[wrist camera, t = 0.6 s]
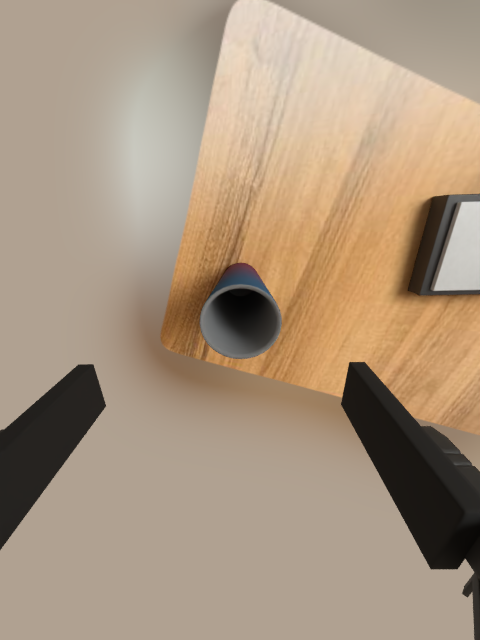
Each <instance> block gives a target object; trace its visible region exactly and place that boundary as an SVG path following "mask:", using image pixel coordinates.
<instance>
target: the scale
mask: <svg viewBox="0 0 480 640" xmlns="http://www.w3.org/2000/svg"><path fill="white" fill-rule="evenodd" d="M408 291H410V292H413V293H415V294H417V295H462V294H480V194H462V195H443V196H435V197H433V200H432V203H431V207H430V211H429V214H428V218H427V222H426V225H425V229H424V233H423V236H422V240H421V244H420V247H419V251H418V255H417V258H416V262H415V266H414V269H413V273H412V277H411V280H410V284H409V288H408Z"/></svg>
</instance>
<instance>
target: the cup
mask: <svg viewBox="0 0 480 640" xmlns="http://www.w3.org/2000/svg"><path fill="white" fill-rule="evenodd" d="M281 324H282V323H281V314H280V310H279V308H278V306H277V304H276V302H275V300H274V299H273V297H272V296H271V294H270V292H269V291H268V289H267V288H266V286H265V285H264V283H263V281H262V280H261V278H260V277H259V275H258V274H257V272H256V271H255V269H254V268H253V267H252V266H250V265H248V264H246V263H236V264H233V265H231V266H230V267H229V268H228V269H227V270H226V272H225V273H224V275H223V276H222V278H221V279H220V281H219V282H218V284H217V285H216V287H215V288H214V290H213V291H212V293H211V294H210V296H209V298H208V299H207V301H206V302H205V304H204V306H203V308H202V311H201V315H200V328H201V332H202V335H203V337H204V339H205V340H206V342H207V343H208V345H209V346H210V347H211V348H212V349H213V350H215V351H216V352H218V353H219V354H222V355H224V356H226V357H230V358H235V359H247V358H251V357H255V356H258V355H260V354H262V353H263V352H265V351H266V350H268V349H269V348H270V347H271V346H272V345H273V344H274V342H275V341H276V339H277V338H278V335H279V333H280V330H281Z"/></svg>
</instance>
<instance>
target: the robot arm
mask: <svg viewBox="0 0 480 640" xmlns="http://www.w3.org/2000/svg"><path fill="white" fill-rule="evenodd" d="M341 405H342V407H343V409H344V411H345V413H346V414H347V416H348V418H349V420H350V422H351V423H352V425H353V427H354V429H355V431H356V433H357V435H358V436H359V438H360V440H361V442H362V444H363V446H364V447H365V449H366V451H367V453H368V455H369V457H370V458H371V460H372V462H373V464H374V466H375V467H376V469H377V471H378V473H379V475H380V477H381V479H382V480H383V482H384V484H385V486H386V488H387V490H388V491H389V493H390V495H391V497H392V499H393V501H394V502H395V504H396V506H397V508H398V510H399V512H400V513H401V515H402V517H403V519H404V521H405V523H406V524H407V526H408V528H409V530H410V532H411V533H412V535H413V537H414V539H415V541H416V543H417V545H418V546H419V548H420V550H421V552H422V554H423V556H424V557H425V559H426V561H427V563H428V565H429V567H430V568H431V569H458V567H459V566H460V565H461V563H462V562H463V561H464V559H466V560H467V562H468V563H469V565H470V566H471V568H472V569H473V571H474V572H475V573H474V574H473V575H472V577H471V578H470V579H469V581H468V582H467V583H466V585H465V586H464V589H463V595H465V596H466V597H468V596H469V595H470V594H471V592H472V591H473V613H474V639H475V640H480V471H479V470H478V469H477V468H476V467H475V466H472V463H471V462H470V461H469V460H468V459H467V458H466V457H465V456H464V455H463V454H461V453H460V450H459V449H458V448H457V447H455V445H454V444H453V443H452V442H451V441H450V440H449V439H448V438H447V437H446V436H444V435H443V434H441V433H440V432H438V431H437V430H435V429H434V428H433V427H431V426H427V427H426V426H420V425H419V423H418V422H417V421H416V420H415V419H414V418H413V417H412V416H411V414H410V413H409V412H408V411H407V410H406V409H405V408H404V406H403V405H402V404H401V403H400V402H399V401H398V400H397V398H396V397H395V396H394V395H393V394H392V393H391V392H390V390H389V389H388V388H387V387H386V386H385V385H384V384H383V382H382V381H381V380H380V379H379V378H378V377H377V376H376V374H375V373H374V372H373V371H372V370H371V369H370V368H369V367H368V365H367V364H366V363H365V362H349V367H348V372H347V377H346V382H345V387H344V392H343V397H342V402H341ZM105 407H106V404H105V401H104V398H103V394H102V391H101V388H100V385H99V381H98V379H97V375H96V372H95V368H94V365H92V364H88V365H78V366H76V367H75V368H74V369H73V370H72V371H71V372H70V373H68V374H67V375H66V376H65V377H64V378H63V379H62V380H61V381H59V382H58V383H57V384H56V385H55V386H54V387H52V388H51V389H50V390H49V391H48V392H47V393H46V394H45V395H43V396H42V397H41V398H40V399H39V400H38V401H36V402H35V403H34V404H33V405H32V406H31V407H30V408H29V409H27V410H26V411H25V412H24V413H23V414H22V415H20V416H19V417H18V418H17V419H16V420H15V421H14V422H13V423H11V424H10V425H9V426H8V427H7V428H6V429H4V430H0V550H1V548H2V547H3V546H4V544H5V543H6V541H7V540H8V539H9V537H10V536H11V535H12V533H13V532H14V531H15V529H16V528H17V526H18V525H19V524H20V522H21V521H22V520H23V518H24V517H25V515H26V514H27V513H28V512H29V510H30V509H31V507H32V506H33V505H34V503H35V502H36V501H37V499H38V498H39V497H40V495H41V494H42V493H43V491H44V490H45V488H46V487H47V486H48V484H49V483H50V482H51V480H52V479H53V478H54V476H55V475H56V473H57V472H58V471H59V469H60V468H61V467H62V465H63V464H64V462H65V461H66V460H67V459H68V457H69V456H70V454H71V453H72V452H73V450H74V449H75V448H76V446H77V445H78V444H79V442H80V441H81V439H82V438H83V437H84V435H85V434H86V433H87V431H88V430H89V429H90V427H91V426H92V425H93V423H94V422H95V420H96V419H97V418H98V416H99V415H100V414H101V412H102V411H103V410H104V408H105Z"/></svg>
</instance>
